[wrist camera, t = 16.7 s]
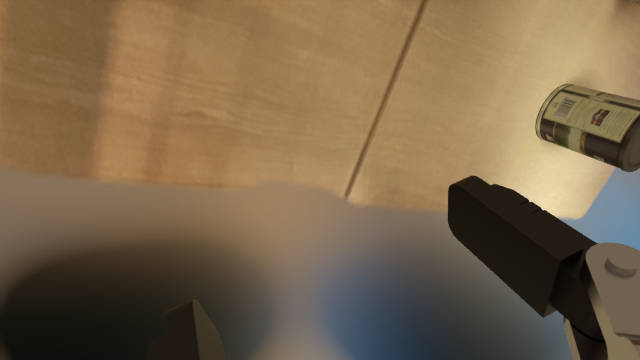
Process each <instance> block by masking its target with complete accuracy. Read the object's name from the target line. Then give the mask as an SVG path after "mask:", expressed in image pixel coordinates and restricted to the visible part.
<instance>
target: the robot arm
mask: <svg viewBox="0 0 640 360" xmlns="http://www.w3.org/2000/svg"><path fill="white" fill-rule="evenodd" d="M448 224H449V227H450V229H451V231H452V233H453V234H454V236H455V237H456V238H457V239H458V240H459V241H460V242H461V243H462V244H463V245H464V246H465V247H466V248H467V249H469V250H470V251H471V252H472V253H473V254H474V255H475V256H477V258H478V259H479V260H481V261H482V262H483V263H484V264H485V265H486V266H487V267H488V268H489V269H490V270H491V271H493V272H494V273H495V274H496V275H497V276H498V277H499V278H500V279H501V280H503V282H505V283H506V284H507V285H508V286H509V287H510V288H511V289H512V290H513V291H514V292H515V293H517V294H518V295H519V296H520V297H521V298H522V299H523V300H524V301H525V302H526V303H528V304H529V305H530V306H531V307H532V308H533V309H534V310H535V311H536V312H537V313H538V314H539V315H541V316H542V317H543V318H544V317H546V316H547V315H549V314H551V313H553V312H555V311H556V310H557V311H559V312H560V313H561V314H562V315H563V316H564V318H563V324H564V328H565V332H566V335H567V339H568V343H569V346H570V350H571V353H572V357H573V360H640V251H639V250H636V249H635V248H632V247H630V246H626V245H623V244H618V243H600V244H598V243H596V242H594V241H592V240H590V239H589V238H587V237H586V236H584V235H583V234H581V233H580V232H578V231H577V230H575V229H573V228H572V227H570V226H569V225H567V224H566V223H564V222H563V221H561V220H559V219H558V218H556V217H555V216H553V215H552V214H550V213H548V212H547V211H545V210H542V209H541V207H539V206H538V205H536V204H534V203H533V202H529V200H528V199H527V198H525V197H524V196H522V195H520V194H519V193H517V192H516V191H514V190H512V189H509V188H506V187H503V186H500V185H496V184H493V185H489V184H488V183H486V182H485V181H483V180H482V179H480V178H479V177H477V176H470V177H467V178H465V179H463V180H461V181H458V182H456V183H454V184H452V185H450V187H449V190H448ZM165 319H166V320H165V321H166V335H164V336H161V337H159V338H157V339H155V340H153V341H152V343H151V346H150V348H149V351H148V354H147V356H146V359H145V360H226V358H225V353H224V348H223V345H222V342H221V339H220V336H219V334H218V332H217V330H216V328H215V327H214V325H213V324H212V322H211V321H210V319H209V318H208V316H207V315H206V313H205V312H204V310H203V309H202V307H201V306H200V304H199V303H198V301H197V300H196V299H193V300H191V301H189V302H186V303H184V304H182V305H180V306H177V307H175V308H173V309H171V310H169V311H167V312H166V315H165Z"/></svg>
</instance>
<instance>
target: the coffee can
mask: <svg viewBox="0 0 640 360" xmlns="http://www.w3.org/2000/svg"><path fill="white" fill-rule="evenodd" d="M536 132H537V135H538V137H539V138H540V139H542V140H546V141H548V142H551V143H554V144H557V145H559V146H562V147H565V148H567V149H570V150H573V151H575V152H578V153H581V154H583V155H586V156H589V157H591V158H594V159H597V160H599V161H602V162H604V163H607V164H610V165H612V166H615V167H618V168H621V169H622V170H623V171H626V172H633V171H635V170H637V169H639V168H640V100H636V99H632V98H627V97H623V96H618V95H614V94H610V93H605V92H601V91H596V90H592V89H588V88H583V87H579V86H575V85H572V84H566V85H563V86H560V87H559V88H557V89H556V90H555V91H554V92H553V93H551V95H550V96H549V97H548V98H547V100H546V101H545V103H544V104H543V106H542V108H541V110H540V112H539V115H538V119H537V123H536Z"/></svg>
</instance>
